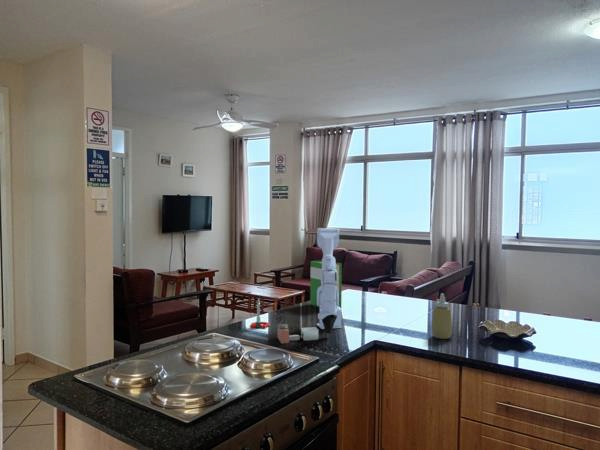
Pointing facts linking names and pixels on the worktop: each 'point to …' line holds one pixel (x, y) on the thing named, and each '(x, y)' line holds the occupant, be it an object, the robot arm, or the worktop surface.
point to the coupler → (285, 334)
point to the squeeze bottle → (442, 319)
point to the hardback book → (316, 281)
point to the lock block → (309, 333)
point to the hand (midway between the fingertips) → (328, 333)
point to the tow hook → (258, 323)
